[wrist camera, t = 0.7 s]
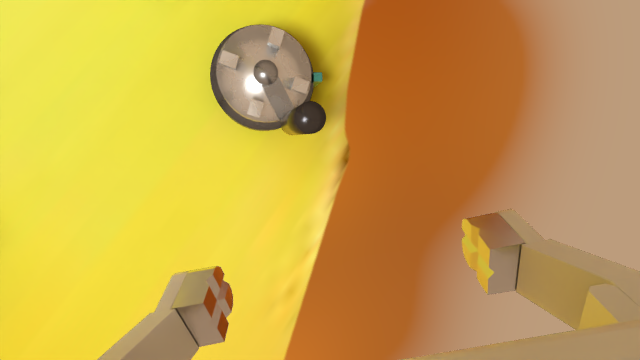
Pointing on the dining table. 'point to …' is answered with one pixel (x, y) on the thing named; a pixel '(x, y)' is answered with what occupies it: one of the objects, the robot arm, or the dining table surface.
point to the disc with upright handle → (269, 79)
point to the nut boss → (315, 80)
